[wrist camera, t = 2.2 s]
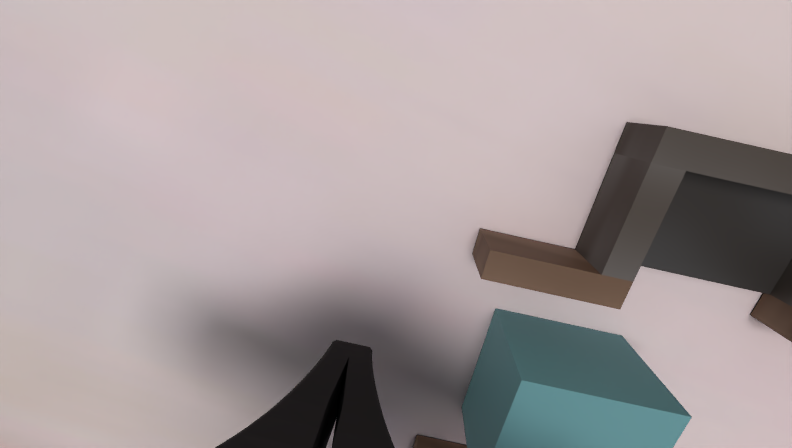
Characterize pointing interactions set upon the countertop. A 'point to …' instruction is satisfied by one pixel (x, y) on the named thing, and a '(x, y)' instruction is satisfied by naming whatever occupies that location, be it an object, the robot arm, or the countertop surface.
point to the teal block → (565, 390)
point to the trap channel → (666, 227)
